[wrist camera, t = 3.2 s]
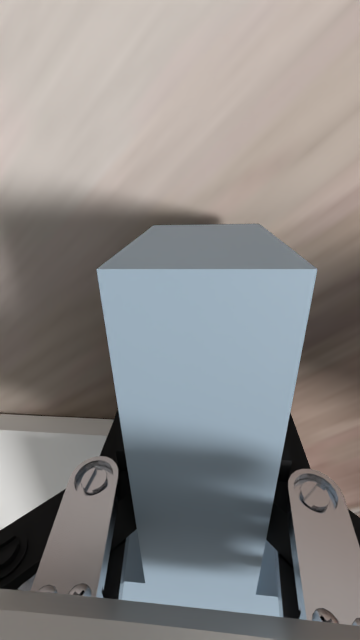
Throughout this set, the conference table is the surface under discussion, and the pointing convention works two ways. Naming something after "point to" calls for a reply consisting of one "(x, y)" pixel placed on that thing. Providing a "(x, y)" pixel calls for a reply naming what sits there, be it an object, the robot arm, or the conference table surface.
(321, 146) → the conference table surface
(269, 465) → the link
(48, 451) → the board
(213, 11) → the conference table surface
